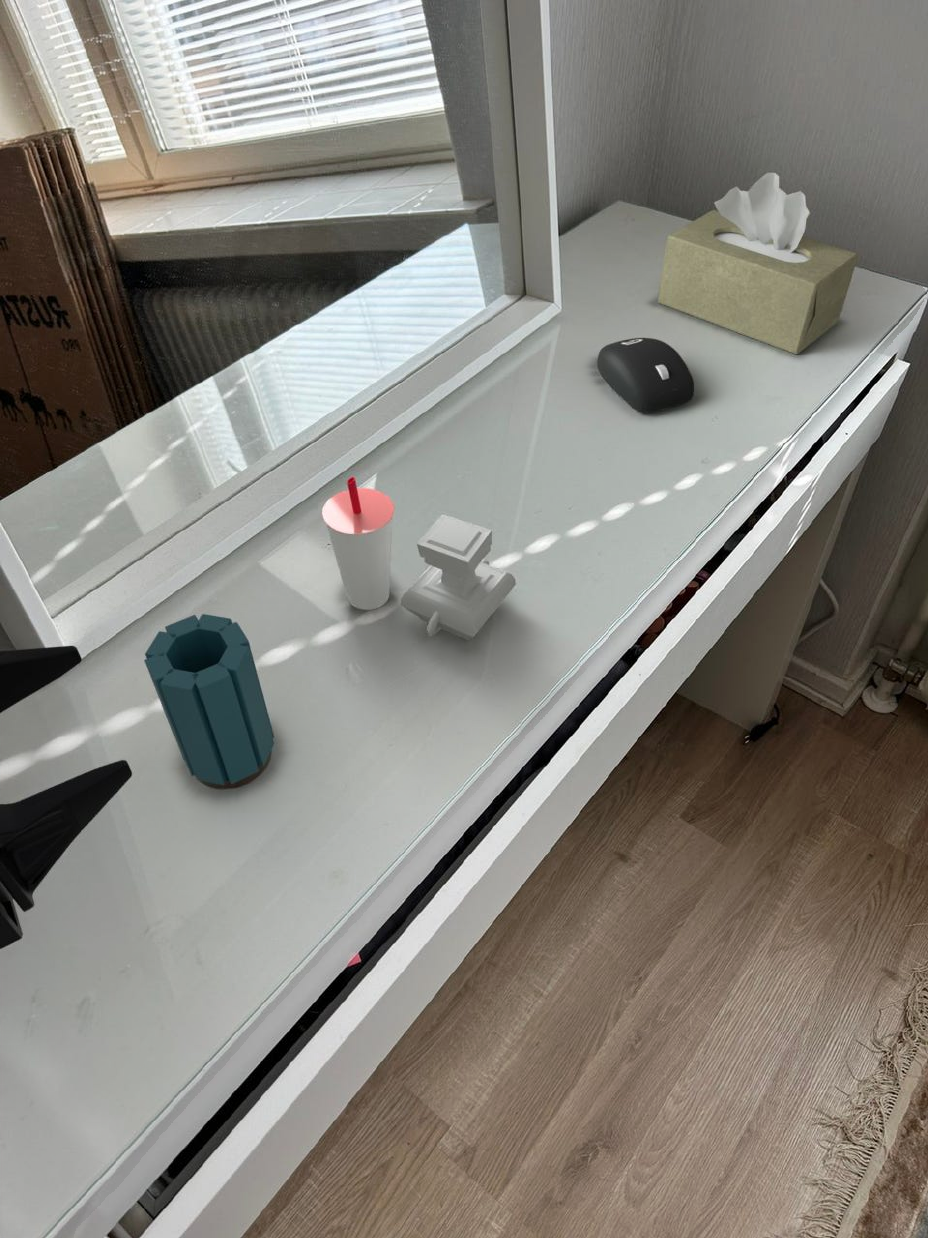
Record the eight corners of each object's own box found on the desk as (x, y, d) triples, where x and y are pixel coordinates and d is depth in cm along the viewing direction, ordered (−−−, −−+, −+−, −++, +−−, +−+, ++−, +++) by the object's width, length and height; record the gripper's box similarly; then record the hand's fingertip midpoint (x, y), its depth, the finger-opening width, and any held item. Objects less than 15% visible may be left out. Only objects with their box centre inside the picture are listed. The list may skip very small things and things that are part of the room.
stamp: (466, 669, 69) (465, 589, 63) (393, 636, 72) (385, 556, 65) (522, 596, 75) (526, 516, 68) (452, 568, 77) (450, 488, 71)
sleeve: (202, 798, 60) (165, 703, 53) (172, 736, 64) (133, 638, 57) (286, 758, 62) (261, 661, 55) (252, 700, 66) (224, 602, 59)
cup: (330, 617, 73) (310, 498, 64) (341, 571, 77) (324, 453, 68) (397, 620, 73) (386, 501, 64) (404, 574, 76) (395, 455, 68)
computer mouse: (639, 348, 101) (644, 314, 98) (701, 402, 94) (709, 368, 91) (580, 363, 99) (583, 329, 96) (638, 420, 92) (644, 385, 89)
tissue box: (654, 302, 109) (675, 161, 97) (698, 273, 114) (723, 136, 102) (799, 356, 100) (841, 209, 88) (840, 323, 105) (885, 179, 93)
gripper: (-324, 925, 32) (112, 734, 38) (-331, 607, 43) (7, 496, 49) (-166, 1040, 40) (175, 868, 46) (-206, 747, 51) (73, 638, 57)
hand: (102, 706), depth 49 cm, fingers open, 9 cm apart
